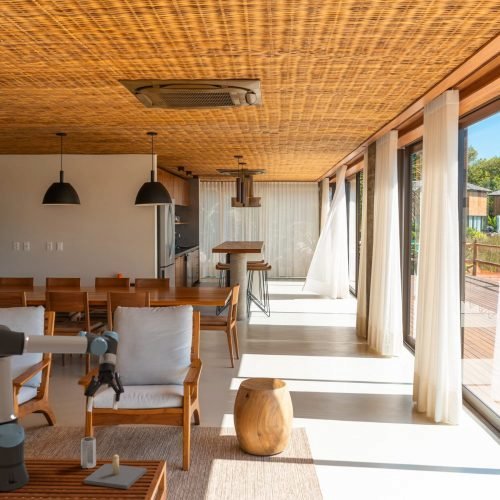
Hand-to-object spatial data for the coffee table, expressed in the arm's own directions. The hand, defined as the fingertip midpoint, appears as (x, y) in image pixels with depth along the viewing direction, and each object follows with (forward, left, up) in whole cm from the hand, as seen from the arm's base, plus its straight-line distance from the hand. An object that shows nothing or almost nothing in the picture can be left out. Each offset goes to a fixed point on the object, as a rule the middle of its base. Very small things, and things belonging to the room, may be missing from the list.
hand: (101, 410), depth 255 cm
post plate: (+13, -11, -25) cm, 30 cm away
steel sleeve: (-5, -3, -25) cm, 25 cm away
